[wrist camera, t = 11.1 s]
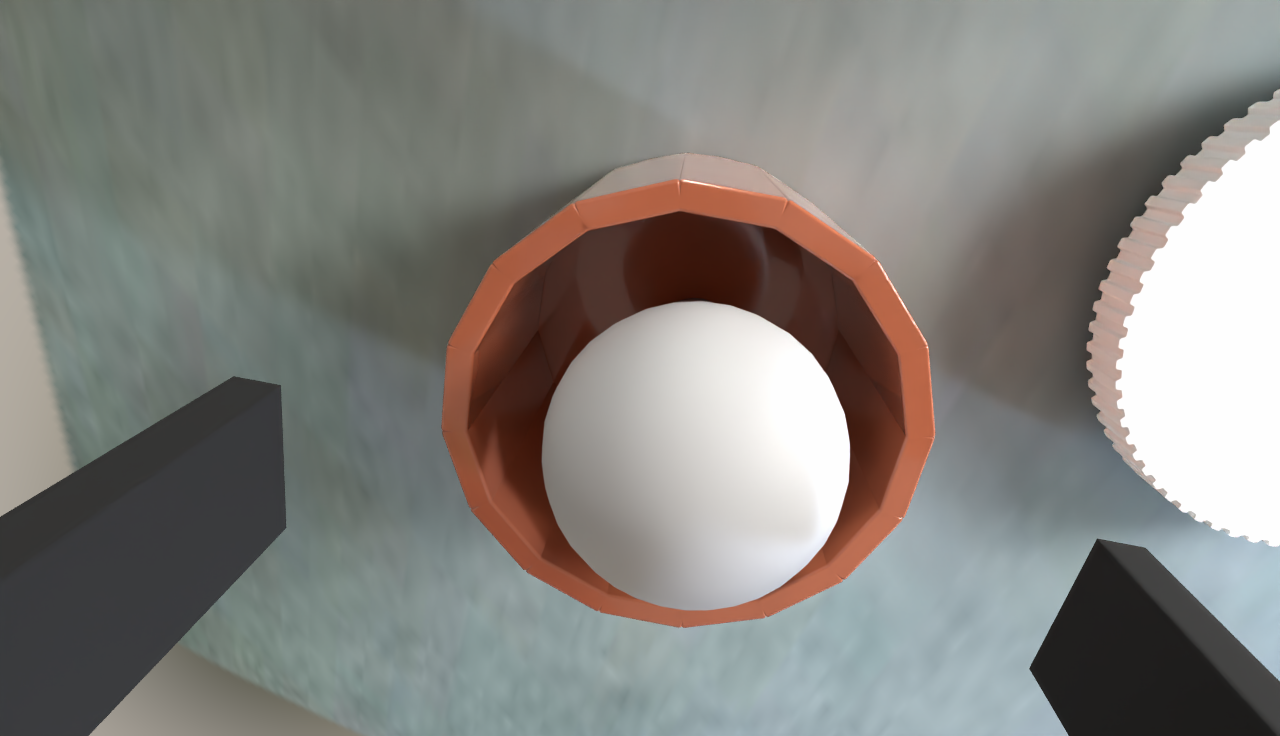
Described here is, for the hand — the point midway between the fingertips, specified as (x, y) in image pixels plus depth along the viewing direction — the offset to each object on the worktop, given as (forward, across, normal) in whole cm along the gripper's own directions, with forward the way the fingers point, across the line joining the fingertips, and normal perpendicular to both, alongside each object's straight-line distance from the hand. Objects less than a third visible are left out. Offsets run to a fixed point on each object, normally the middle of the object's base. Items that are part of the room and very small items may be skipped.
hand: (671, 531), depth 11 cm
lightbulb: (+11, 0, 0) cm, 11 cm away
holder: (+12, 0, 0) cm, 12 cm away
